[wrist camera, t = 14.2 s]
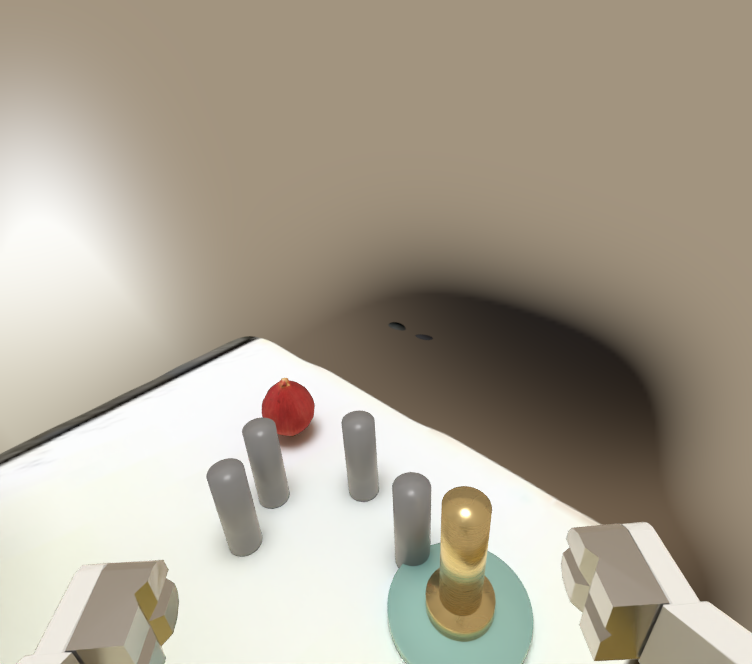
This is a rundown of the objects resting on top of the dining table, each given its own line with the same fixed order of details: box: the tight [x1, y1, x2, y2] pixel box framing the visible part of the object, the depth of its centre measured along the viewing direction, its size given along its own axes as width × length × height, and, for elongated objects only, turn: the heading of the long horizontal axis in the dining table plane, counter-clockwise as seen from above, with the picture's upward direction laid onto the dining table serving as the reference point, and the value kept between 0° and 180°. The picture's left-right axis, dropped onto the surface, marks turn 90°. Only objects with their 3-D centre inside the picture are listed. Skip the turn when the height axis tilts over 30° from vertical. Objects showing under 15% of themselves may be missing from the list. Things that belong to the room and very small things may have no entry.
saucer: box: [388, 543, 533, 664], centre depth 38 cm, size 11×11×1 cm
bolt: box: [426, 486, 496, 642], centre depth 35 cm, size 5×5×12 cm
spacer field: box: [207, 411, 431, 568], centre depth 44 cm, size 18×11×9 cm, turn 93°
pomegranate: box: [262, 378, 314, 436], centre depth 55 cm, size 6×6×8 cm
